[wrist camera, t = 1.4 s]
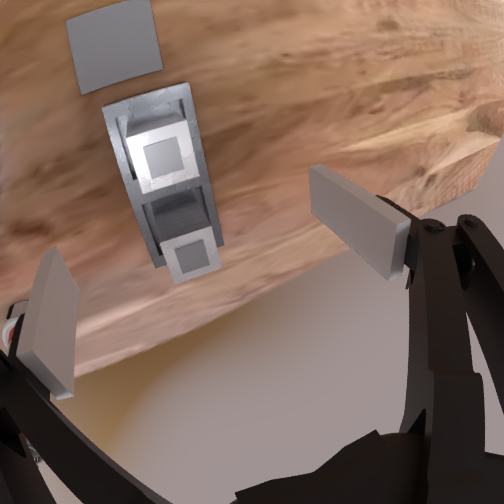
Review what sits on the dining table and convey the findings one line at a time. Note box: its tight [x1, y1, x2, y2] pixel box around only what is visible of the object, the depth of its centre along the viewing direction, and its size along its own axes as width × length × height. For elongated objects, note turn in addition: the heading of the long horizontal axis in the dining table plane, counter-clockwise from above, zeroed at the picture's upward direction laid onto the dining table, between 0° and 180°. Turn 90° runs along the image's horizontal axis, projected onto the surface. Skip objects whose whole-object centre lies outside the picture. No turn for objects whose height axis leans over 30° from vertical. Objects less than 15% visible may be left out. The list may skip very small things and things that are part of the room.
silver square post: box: [151, 189, 222, 284], centre depth 34 cm, size 5×5×10 cm
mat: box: [66, 0, 163, 95], centre depth 25 cm, size 9×9×1 cm
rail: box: [102, 82, 224, 268], centre depth 35 cm, size 20×9×3 cm, turn 9°
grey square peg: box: [126, 108, 199, 194], centre depth 28 cm, size 5×5×10 cm
